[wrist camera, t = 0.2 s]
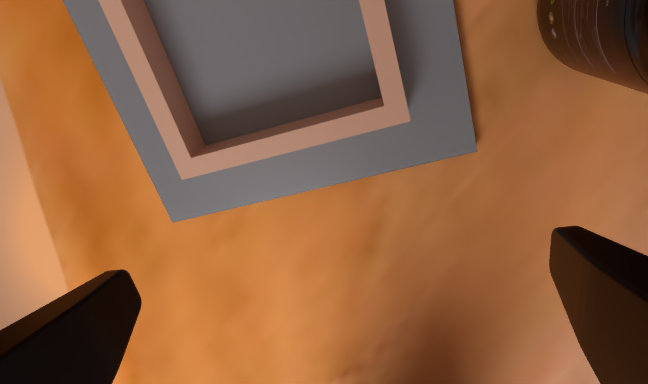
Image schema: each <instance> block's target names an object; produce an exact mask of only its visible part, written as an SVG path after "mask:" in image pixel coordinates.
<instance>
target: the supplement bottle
mask: <svg viewBox="0 0 648 384" xmlns="http://www.w3.org/2000/svg"><path fill="white" fill-rule="evenodd" d="M537 17H538V25H539V29H540V33H541V36H542V38H543V40H544V43H545V44H546V46H547V48H548V49H549V50H550V52H551V53H552V54H553V55H554V56H555V57H556V58H557V59H558V60H559V61H561V62H562V63H563V64H565V65H567V66H568V67H570V68H572V69H574V70H576V71H579V72H582V73H585V74H588V75H591V76H594V77H597V78H600V79H603V80H606V81H609V82H613V83H616V84H619V85H622V86H625V87H628V88H631V89H634V90H637V91H640V92H644V93H647V94H648V0H538V4H537Z"/></svg>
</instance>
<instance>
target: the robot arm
mask: <svg viewBox="0 0 648 384" xmlns="http://www.w3.org/2000/svg"><path fill="white" fill-rule="evenodd" d="M549 267H550V272H551V276H552V278H553V281H554V283H555V286H556V288H557V291H558V293H559V295H560V298H561V300H562V303H563V305H564V308H565V310H566V313H567V315H568V318H569V320H570V323H571V325H572V328H573V330H574V332H575V335H576V337H577V339H578V342H579V344H580V346H581V348H582V350H583V352H584V354H585V356H586V358H587V360H588V362H589V363H590V365H591V367H592V369H593V371H594V373H595V374H596V376H597V378H598V380H599V382H600V383H601V384H648V256H646V255H644V254H642V253H639V252H637V251H635V250H632V249H630V248H628V247H626V246H623V245H621V244H619V243H616V242H614V241H612V240H609V239H607V238H605V237H602V236H600V235H598V234H595V233H593V232H591V231H589V230H586V229H584V228H582V227H579V226H568V227H558V228H555V229H554V230H553V232H552V234H551V246H550V260H549ZM140 309H141V297H140V294H139V292H138V290H137V288H136V286H135V284H134V282H133V280H132V278H131V276H130V274H129V273H128V272H127V271H126V270H111V271H106V272H104V273H102V274H101V275H99V276H97V277H95V278H93V279H92V280H90V281H88V282H86V283H84V284H83V285H81V286H79V287H77V288H75V289H74V290H72V291H70V292H68V293H66V294H65V295H63V296H61V297H59V298H57V299H56V300H54V301H52V302H50V303H49V304H47V305H45V306H43V307H41V308H40V309H38V310H36V311H34V312H32V313H31V314H29V315H27V316H25V317H23V318H22V319H20V320H18V321H16V322H14V323H13V324H11V325H9V326H7V327H6V328H4V329H2V330H0V384H112V383H113V380H114V378H115V376H116V374H117V371H118V369H119V367H120V364H121V361H122V359H123V356H124V353H125V350H126V348H127V345H128V342H129V339H130V337H131V334H132V331H133V328H134V326H135V323H136V320H137V317H138V315H139V312H140Z"/></svg>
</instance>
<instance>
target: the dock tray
mask: <svg viewBox="0 0 648 384" xmlns="http://www.w3.org/2000/svg"><path fill="white" fill-rule="evenodd" d="M63 2H64V4H65V6H66V8H67V10H68V12H69V14H70V16H71V18H72V20H73V22H74V24H75V26H76V28H77V30H78V32H79V34H80V36H81V38H82V40H83V42H84V44H85V46H86V48H87V50H88V52H89V54H90V56H91V58H92V60H93V62H94V65H95V67H96V69H97V71H98V73H99V75H100V77H101V79H102V81H103V83H104V85H105V87H106V89H107V91H108V93H109V95H110V97H111V99H112V101H113V103H114V105H115V107H116V109H117V111H118V113H119V115H120V117H121V119H122V121H123V123H124V125H125V127H126V129H127V131H128V133H129V135H130V137H131V139H132V141H133V143H134V145H135V147H136V149H137V151H138V153H139V155H140V158H141V160H142V162H143V164H144V166H145V168H146V170H147V172H148V174H149V176H150V178H151V180H152V182H153V184H154V186H155V188H156V190H157V192H158V194H159V196H160V198H161V200H162V202H163V204H164V206H165V208H166V210H167V212H168V214H169V216H170V218H171V220H172V222H177V221H181V220H186V219H190V218H194V217H199V216H203V215H207V214H211V213H216V212H220V211H224V210H229V209H233V208H237V207H241V206H246V205H250V204H254V203H258V202H263V201H267V200H271V199H276V198H280V197H284V196H288V195H293V194H297V193H301V192H306V191H310V190H314V189H318V188H323V187H327V186H331V185H336V184H340V183H344V182H348V181H353V180H357V179H361V178H365V177H370V176H374V175H378V174H383V173H387V172H391V171H395V170H400V169H404V168H408V167H413V166H417V165H421V164H425V163H430V162H434V161H438V160H443V159H447V158H451V157H455V156H460V155H464V154H468V153H472V152H477V147H476V140H475V134H474V128H473V122H472V115H471V109H470V103H469V97H468V90H467V84H466V78H465V72H464V65H463V59H462V53H461V47H460V40H459V34H458V28H457V22H456V15H455V9H454V3H453V0H63Z"/></svg>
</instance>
